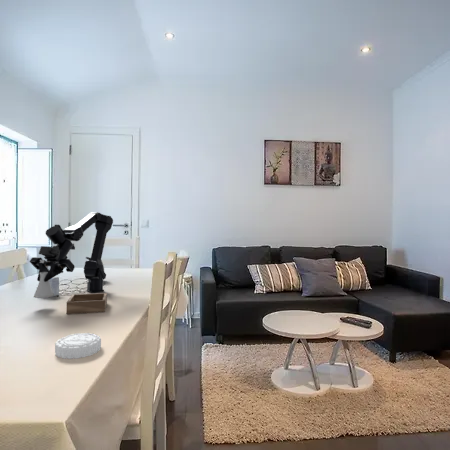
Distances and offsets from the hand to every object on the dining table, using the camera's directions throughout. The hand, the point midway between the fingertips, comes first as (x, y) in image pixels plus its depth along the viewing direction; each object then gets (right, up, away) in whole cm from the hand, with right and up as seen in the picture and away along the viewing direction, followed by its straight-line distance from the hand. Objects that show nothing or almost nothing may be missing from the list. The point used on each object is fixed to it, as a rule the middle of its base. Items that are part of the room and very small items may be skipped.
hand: (41, 281), depth 139 cm
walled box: (+18, -12, +2) cm, 22 cm away
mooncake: (+33, -13, -42) cm, 55 cm away
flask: (0, -7, +2) cm, 7 cm away
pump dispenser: (-1, -10, +60) cm, 61 cm away
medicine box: (-9, -11, +24) cm, 28 cm away
